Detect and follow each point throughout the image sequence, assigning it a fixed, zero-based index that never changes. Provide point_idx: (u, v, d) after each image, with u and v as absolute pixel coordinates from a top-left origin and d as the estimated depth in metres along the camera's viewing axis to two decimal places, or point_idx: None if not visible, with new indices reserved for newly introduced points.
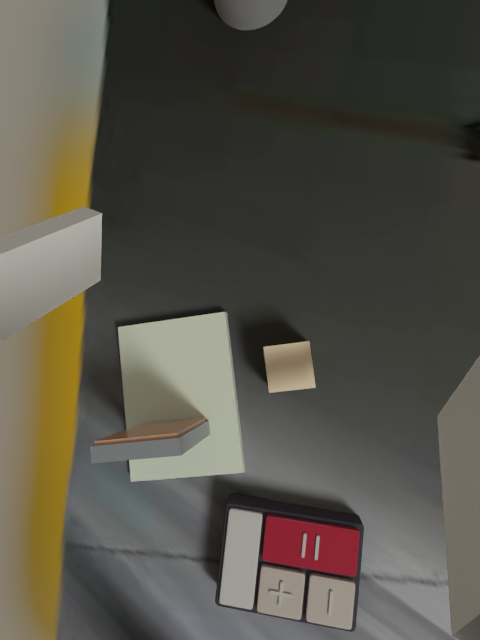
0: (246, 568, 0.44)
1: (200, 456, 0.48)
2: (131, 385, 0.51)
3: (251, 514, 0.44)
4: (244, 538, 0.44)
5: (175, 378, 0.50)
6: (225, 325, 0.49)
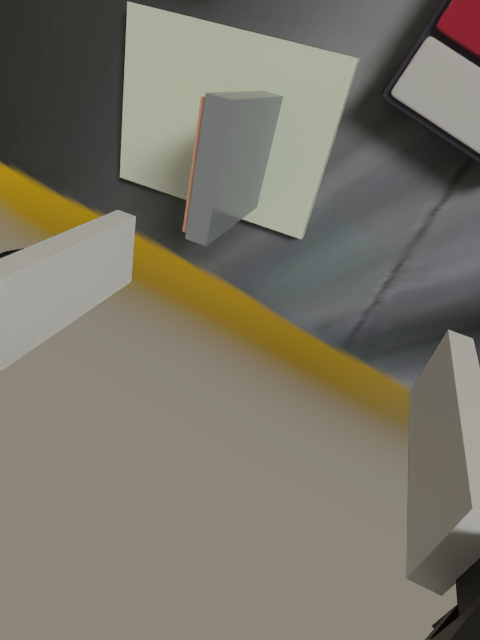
0: None
1: (307, 125, 0.32)
2: None
3: (418, 57, 0.26)
4: (447, 87, 0.26)
5: (195, 120, 0.35)
6: (145, 7, 0.32)
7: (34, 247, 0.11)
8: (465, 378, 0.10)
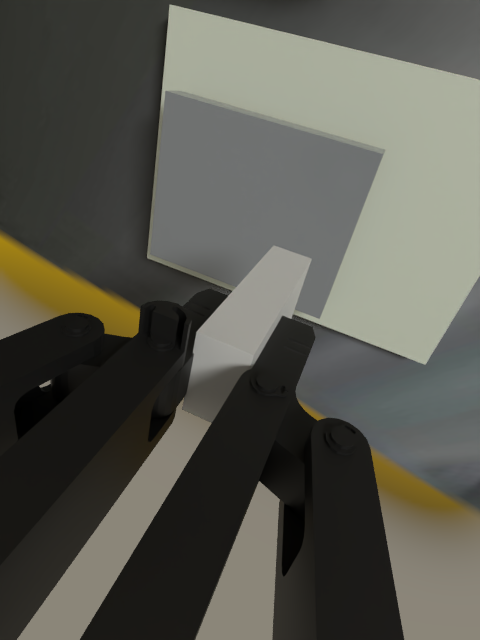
0: None
1: (463, 206, 0.20)
2: None
3: None
4: None
5: None
6: (199, 15, 0.20)
7: (237, 291, 0.12)
8: (282, 279, 0.13)
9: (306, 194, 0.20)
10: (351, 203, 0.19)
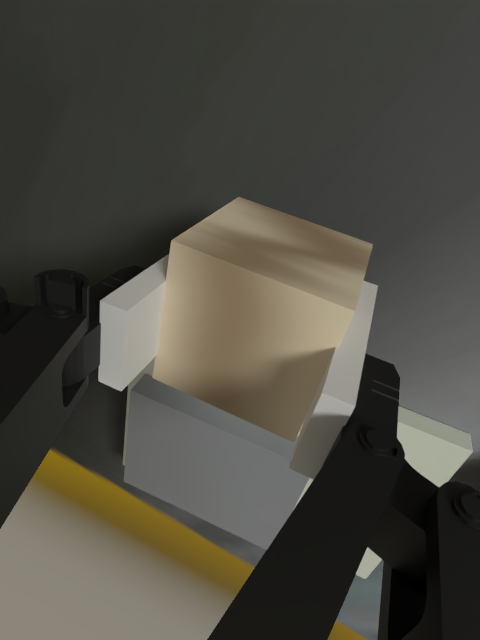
0: None
1: None
2: None
3: None
4: None
5: None
6: None
7: (156, 266, 0.12)
8: (357, 312, 0.12)
9: (253, 477, 0.23)
10: (291, 491, 0.23)
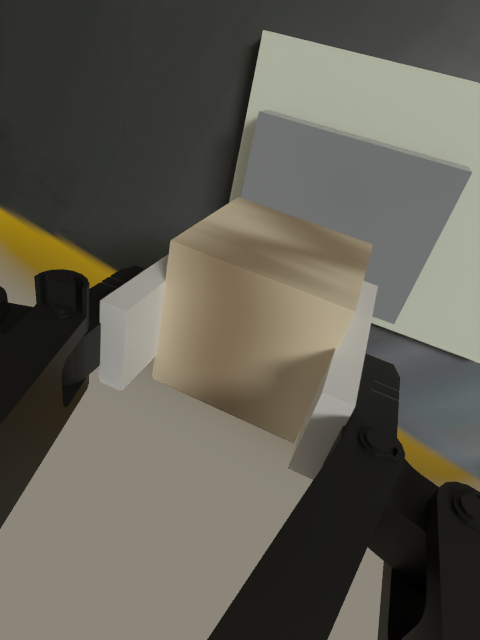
0: None
1: None
2: None
3: None
4: None
5: None
6: (292, 40, 0.21)
7: (156, 266, 0.12)
8: (356, 312, 0.12)
9: (392, 208, 0.21)
10: (436, 217, 0.21)
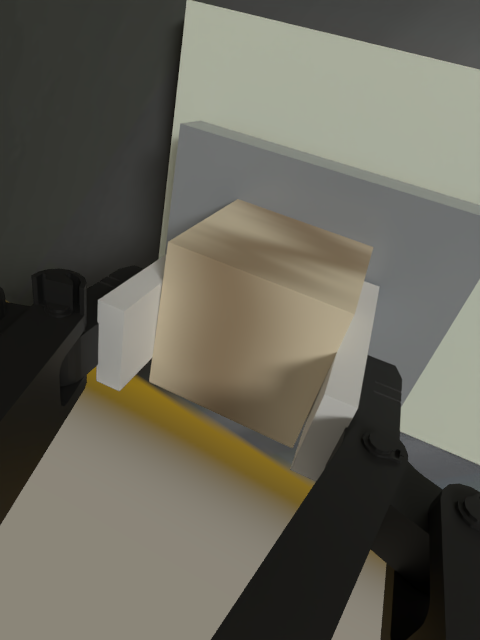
0: None
1: None
2: None
3: None
4: None
5: None
6: (230, 15, 0.14)
7: (154, 266, 0.12)
8: (358, 313, 0.12)
9: (383, 273, 0.14)
10: (452, 289, 0.13)
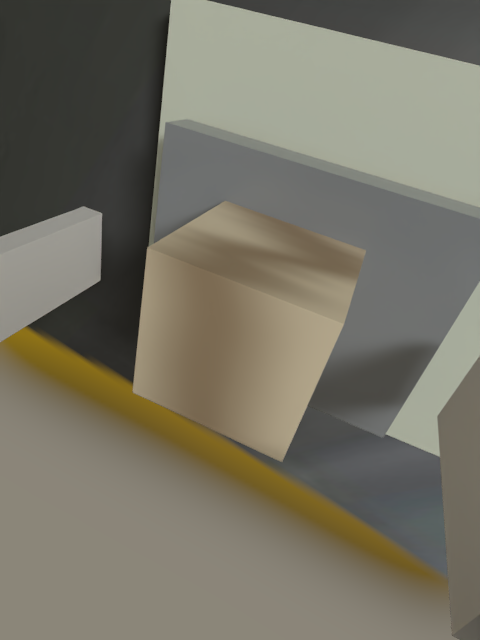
0: None
1: None
2: None
3: None
4: None
5: None
6: (217, 8, 0.13)
7: None
8: None
9: (377, 277, 0.13)
10: (449, 295, 0.13)
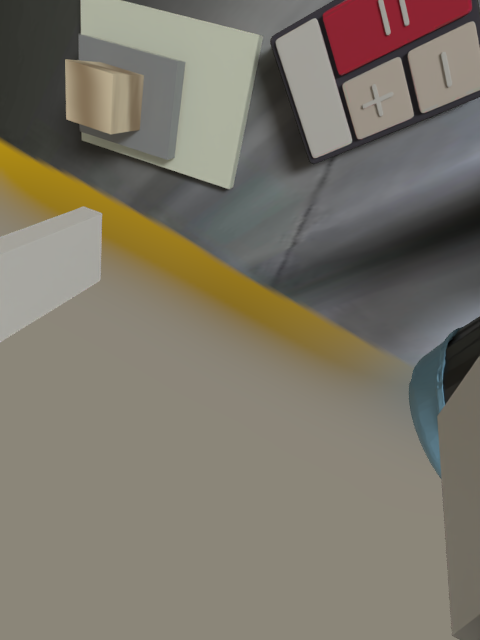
0: (325, 99, 0.35)
1: (225, 90, 0.40)
2: None
3: (302, 28, 0.33)
4: (308, 65, 0.34)
5: None
6: None
7: None
8: None
9: (149, 85, 0.40)
10: (169, 88, 0.39)
